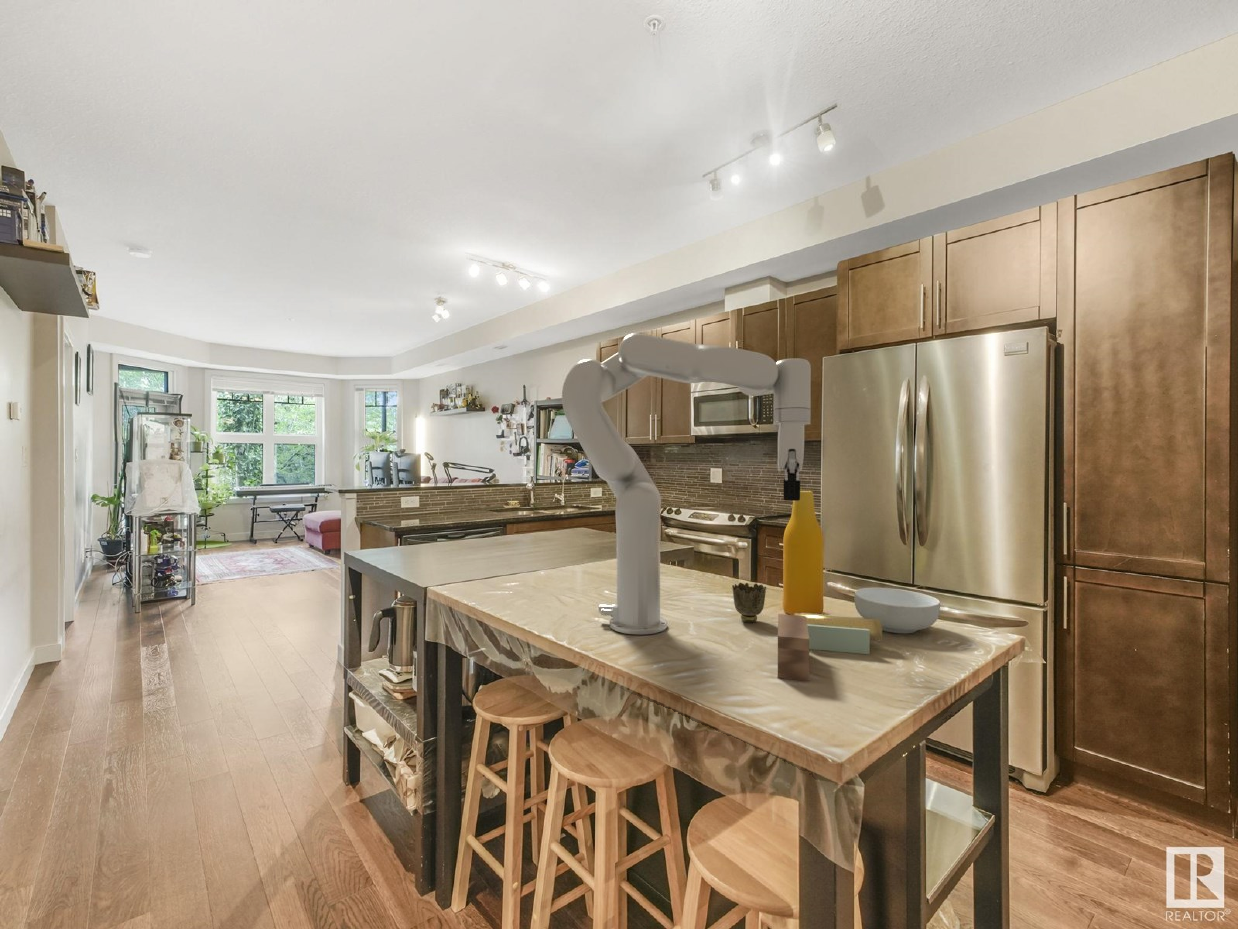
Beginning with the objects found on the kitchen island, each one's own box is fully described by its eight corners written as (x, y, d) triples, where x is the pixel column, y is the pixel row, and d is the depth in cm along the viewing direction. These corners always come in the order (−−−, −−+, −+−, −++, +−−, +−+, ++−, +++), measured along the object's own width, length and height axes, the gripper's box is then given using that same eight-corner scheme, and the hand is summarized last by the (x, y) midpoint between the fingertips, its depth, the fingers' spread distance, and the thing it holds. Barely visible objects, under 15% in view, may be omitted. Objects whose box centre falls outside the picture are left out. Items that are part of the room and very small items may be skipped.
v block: (802, 648, 109) (802, 625, 109) (800, 634, 117) (800, 612, 117) (869, 654, 105) (869, 630, 105) (862, 639, 114) (862, 617, 114)
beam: (777, 677, 94) (777, 636, 94) (778, 650, 108) (778, 614, 107) (808, 681, 93) (809, 639, 93) (805, 652, 106) (805, 616, 106)
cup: (729, 623, 125) (729, 588, 125) (735, 615, 131) (735, 581, 131) (763, 627, 122) (763, 591, 122) (768, 618, 129) (768, 584, 129)
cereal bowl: (912, 646, 110) (912, 610, 110) (838, 625, 124) (838, 593, 124) (955, 631, 120) (955, 598, 119) (882, 613, 133) (882, 583, 133)
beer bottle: (811, 606, 139) (812, 490, 139) (831, 617, 130) (831, 492, 130) (776, 608, 138) (776, 490, 137) (793, 618, 129) (793, 492, 128)
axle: (794, 636, 112) (794, 617, 111) (794, 628, 116) (794, 610, 115) (881, 644, 107) (882, 624, 107) (878, 635, 111) (879, 616, 111)
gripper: (774, 421, 128) (773, 495, 128) (772, 415, 112) (772, 501, 112) (808, 420, 126) (808, 496, 126) (812, 414, 109) (812, 502, 110)
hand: (791, 498), depth 119 cm, fingers open, 9 cm apart
